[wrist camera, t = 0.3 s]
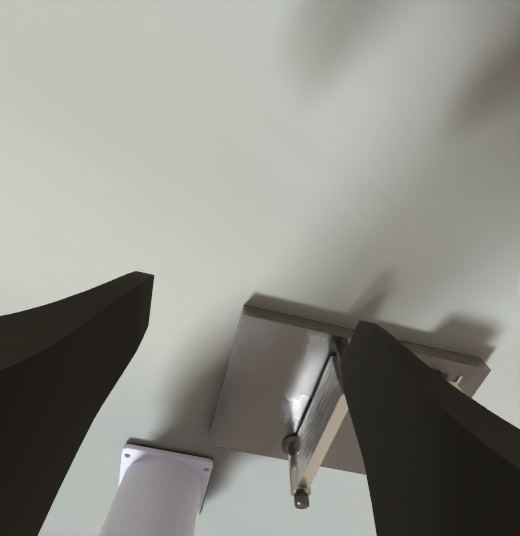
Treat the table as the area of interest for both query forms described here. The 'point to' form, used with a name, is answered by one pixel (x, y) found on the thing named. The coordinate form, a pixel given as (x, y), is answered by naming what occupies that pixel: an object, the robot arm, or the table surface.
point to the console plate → (300, 386)
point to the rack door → (317, 429)
